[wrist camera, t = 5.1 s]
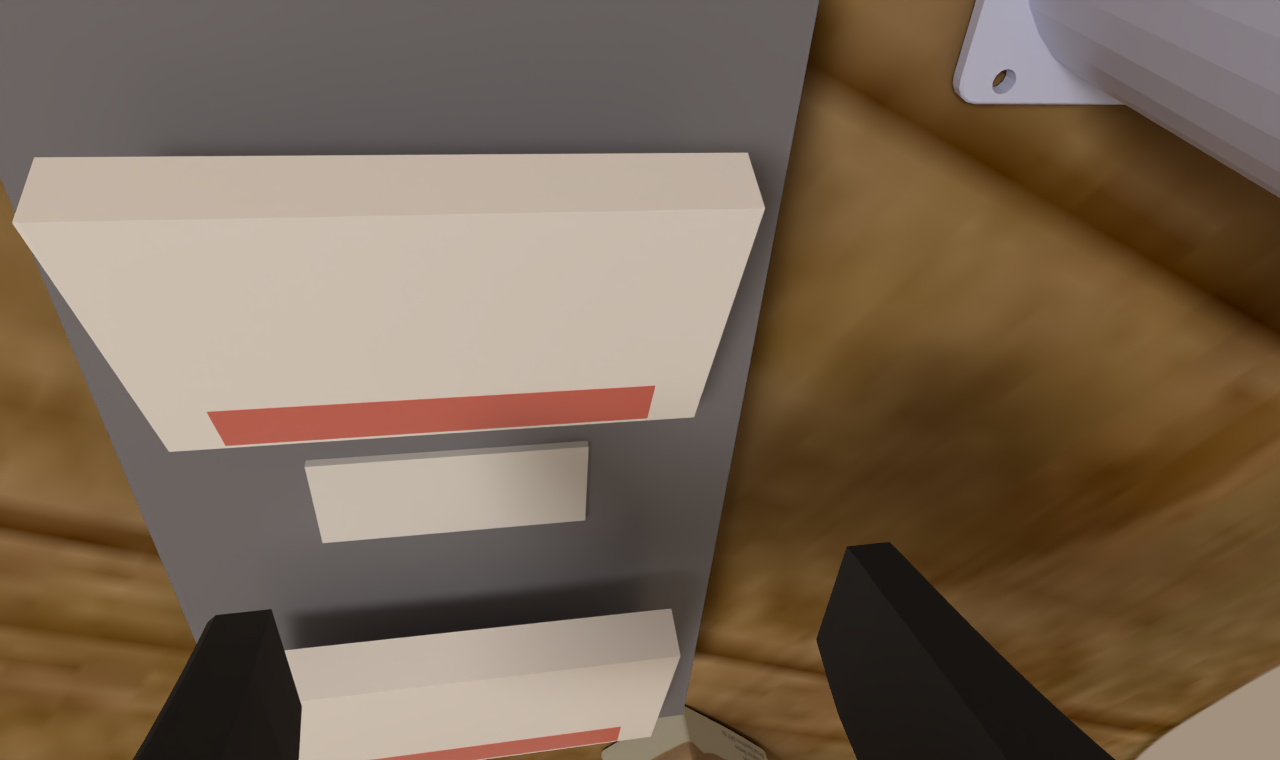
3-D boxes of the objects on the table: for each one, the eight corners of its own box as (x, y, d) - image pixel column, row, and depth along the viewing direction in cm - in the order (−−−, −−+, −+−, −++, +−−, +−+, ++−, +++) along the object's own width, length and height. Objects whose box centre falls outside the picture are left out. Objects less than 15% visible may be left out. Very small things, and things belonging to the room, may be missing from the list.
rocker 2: (671, 608, 21) (680, 656, 20) (644, 695, 25) (650, 736, 25) (235, 655, 19) (227, 710, 18) (290, 740, 24) (285, 786, 23)
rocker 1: (747, 152, 13) (765, 208, 13) (683, 369, 18) (694, 417, 18) (34, 157, 11) (12, 222, 11) (178, 396, 16) (168, 452, 16)
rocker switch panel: (768, -65, 16) (827, -21, 14) (663, 635, 30) (684, 720, 27) (-8, -98, 14) (-106, -53, 11) (266, 680, 27) (249, 778, 25)
